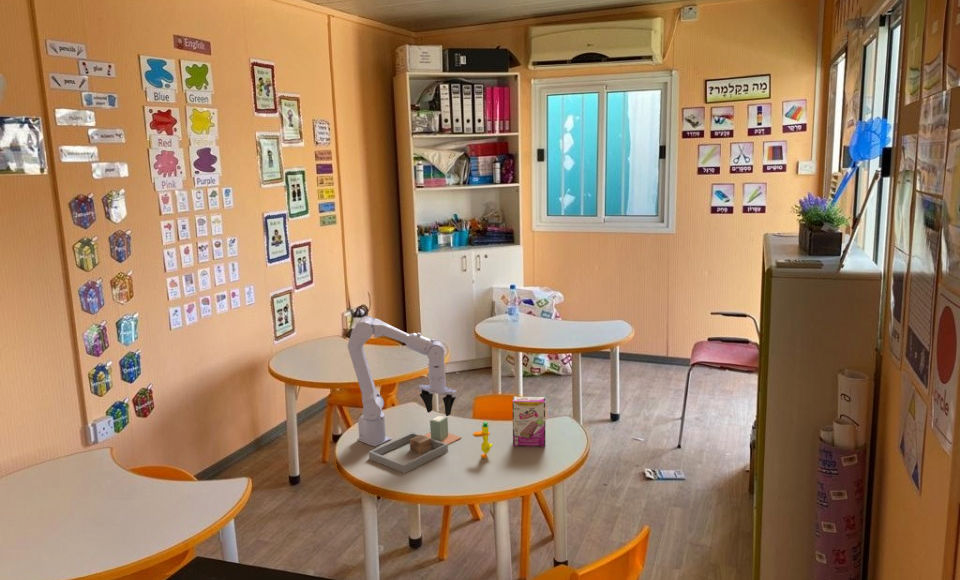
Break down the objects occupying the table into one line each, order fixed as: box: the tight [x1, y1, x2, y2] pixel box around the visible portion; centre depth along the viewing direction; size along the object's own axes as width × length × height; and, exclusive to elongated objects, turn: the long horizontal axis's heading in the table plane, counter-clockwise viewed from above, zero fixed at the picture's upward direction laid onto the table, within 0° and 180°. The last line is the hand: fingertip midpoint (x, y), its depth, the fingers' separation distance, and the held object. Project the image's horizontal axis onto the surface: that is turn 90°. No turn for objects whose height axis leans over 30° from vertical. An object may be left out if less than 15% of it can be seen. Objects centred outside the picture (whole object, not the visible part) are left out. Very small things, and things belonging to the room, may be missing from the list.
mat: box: [423, 431, 462, 446], centre depth 244 cm, size 12×9×1 cm
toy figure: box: [472, 421, 494, 459], centre depth 227 cm, size 7×4×12 cm, turn 100°
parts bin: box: [368, 432, 449, 474], centre depth 231 cm, size 17×20×2 cm
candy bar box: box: [512, 396, 547, 448], centre depth 235 cm, size 11×5×16 cm, turn 84°
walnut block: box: [409, 434, 432, 455], centre depth 235 cm, size 5×5×4 cm
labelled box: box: [429, 415, 449, 441], centre depth 243 cm, size 4×5×7 cm
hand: (438, 413), depth 242 cm, fingers open, 7 cm apart
